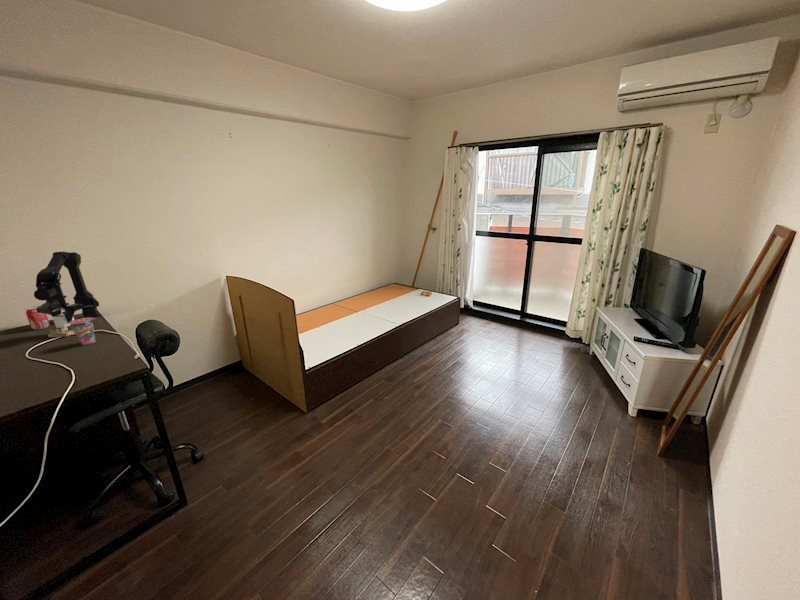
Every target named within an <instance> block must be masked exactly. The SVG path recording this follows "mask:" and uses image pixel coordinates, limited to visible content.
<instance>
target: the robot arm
mask: <svg viewBox="0 0 800 600" xmlns="http://www.w3.org/2000/svg"><path fill="white" fill-rule="evenodd" d="M81 263H82V256H81V254H79V253H77V251H76V252H69V251H55V252H53V253H52V257H51V258H50V260H49V262H48V263H47V266H46V267H45V268H42V269H41V270H39V272H37V275H36V280H35V288H36V290H34V292H33V297H34V298H35V299H36V300H39V301H45V302H44V303H42V304H41V305H39V306H40V307H37V309H36V310H37V313H45V314H46V315H50V316H51V317H52V318H53V317H54V316H56V315H60V314H64V315H65V317H66V319H67V322H68V323H69V322H70V321H72V318H73V317H74V315H75V313H76V312H77V311H80V310H81V312H82V318H87V317H93V318H97V317H99V316H102V313H99V311H98V308H97V307H100V303H99V302H100V301H98V299H96V298H95V297H94V295H93V293H91V292H90V291H89V290H88V289H87V287H86V284H85V280H84V277H83V275H82V271H81V269H80V266H81ZM62 267H64V268H65V269H67V271H68V273H69V276H70V278H71V282H72V285H73V287H74V291H75V295H74V296H73V300H74V301H73V302H74V303H72V304H70V302H67V301H66V299H65V298H67V295H64V292H63V290H62V287H61V285H62V283H61V279H62V274H61V273H60V271H61V270H62Z"/></svg>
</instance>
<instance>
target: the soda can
mask: <svg viewBox="0 0 800 600" xmlns="http://www.w3.org/2000/svg"><path fill="white" fill-rule="evenodd" d="M40 306H41V305H38V306H32V307H31V306H30V307H27V308H25V315H26V317H27V320H28V322H29V325H30V327H31V329H32V330H43V329H47V328H48V327H50V321H49V319H48V316H47V315H48V314H45V313H37V310H36V309H37V307H40Z"/></svg>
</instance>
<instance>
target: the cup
mask: <svg viewBox="0 0 800 600" xmlns="http://www.w3.org/2000/svg"><path fill="white" fill-rule="evenodd" d="M96 319H97V317H94V318H93V317H87V318H83V317H80V318H76V319H75V318H74V320H72V321H70V322H69V324H70V326H71V329H72V330H74V332H75V334H74V335H75V336H76V338H77V339H78V341H79V343H80V345H81V346H87V344H88V345H91V343H92V344H94V343H96V336H95V328H94V323H93V321H94V320H96ZM93 342H94V343H93Z"/></svg>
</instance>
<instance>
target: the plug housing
mask: <svg viewBox="0 0 800 600" xmlns="http://www.w3.org/2000/svg"><path fill="white" fill-rule="evenodd" d="M72 320H75V317H74V316H73V318H72ZM52 321H53V323H54V326H55V328H56V329H59V328H60V329H62V328H64V327H67V328H68V327H69V326H71V325H70V324H69V323H68V322H67V319H66V317H65V315H64V314H62V313H61V314H60V315H56V316H54V317H52Z"/></svg>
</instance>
